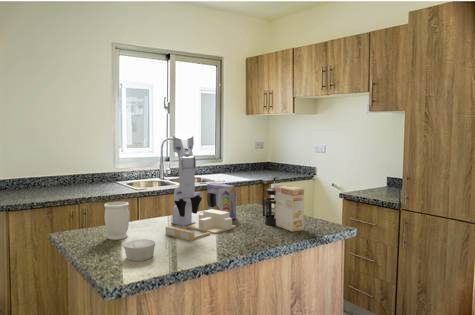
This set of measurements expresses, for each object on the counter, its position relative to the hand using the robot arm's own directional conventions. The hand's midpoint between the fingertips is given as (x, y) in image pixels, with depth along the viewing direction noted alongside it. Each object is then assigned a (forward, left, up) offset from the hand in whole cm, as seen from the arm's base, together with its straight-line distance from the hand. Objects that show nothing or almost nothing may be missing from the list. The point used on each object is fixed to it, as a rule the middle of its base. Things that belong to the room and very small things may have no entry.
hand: (188, 214), depth 171 cm
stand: (-2, +17, -9) cm, 20 cm away
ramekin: (+6, -30, -10) cm, 33 cm away
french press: (+17, +42, -10) cm, 46 cm away
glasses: (-2, +2, -10) cm, 10 cm away
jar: (-23, -20, -10) cm, 33 cm away
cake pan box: (-13, +37, -10) cm, 40 cm away
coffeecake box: (+26, +40, -10) cm, 49 cm away
